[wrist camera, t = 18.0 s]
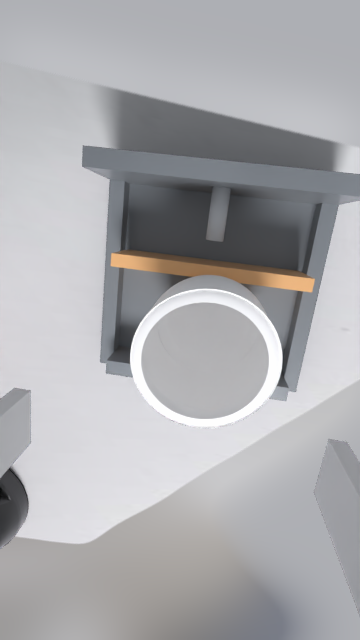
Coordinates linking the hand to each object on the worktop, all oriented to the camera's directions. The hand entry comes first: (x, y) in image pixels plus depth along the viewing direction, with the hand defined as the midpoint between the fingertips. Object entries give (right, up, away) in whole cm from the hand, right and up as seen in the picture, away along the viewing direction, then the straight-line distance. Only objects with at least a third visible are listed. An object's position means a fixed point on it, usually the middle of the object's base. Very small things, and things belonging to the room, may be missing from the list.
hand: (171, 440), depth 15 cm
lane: (+4, +10, +23) cm, 25 cm away
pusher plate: (+4, +11, +21) cm, 24 cm away
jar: (+4, +6, +23) cm, 24 cm away
